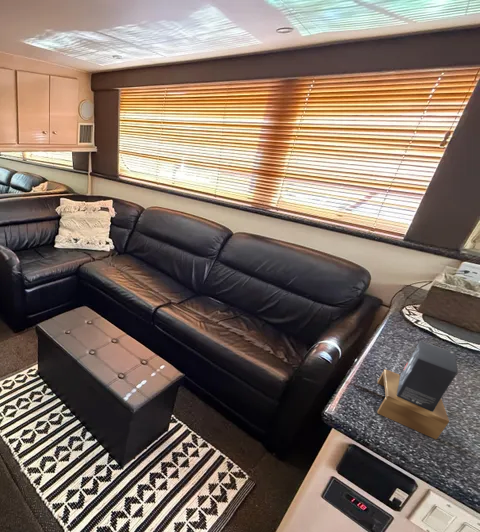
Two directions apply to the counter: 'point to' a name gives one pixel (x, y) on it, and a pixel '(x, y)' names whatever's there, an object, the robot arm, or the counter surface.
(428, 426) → the tan bracket
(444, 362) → the small box
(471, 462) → the counter surface
